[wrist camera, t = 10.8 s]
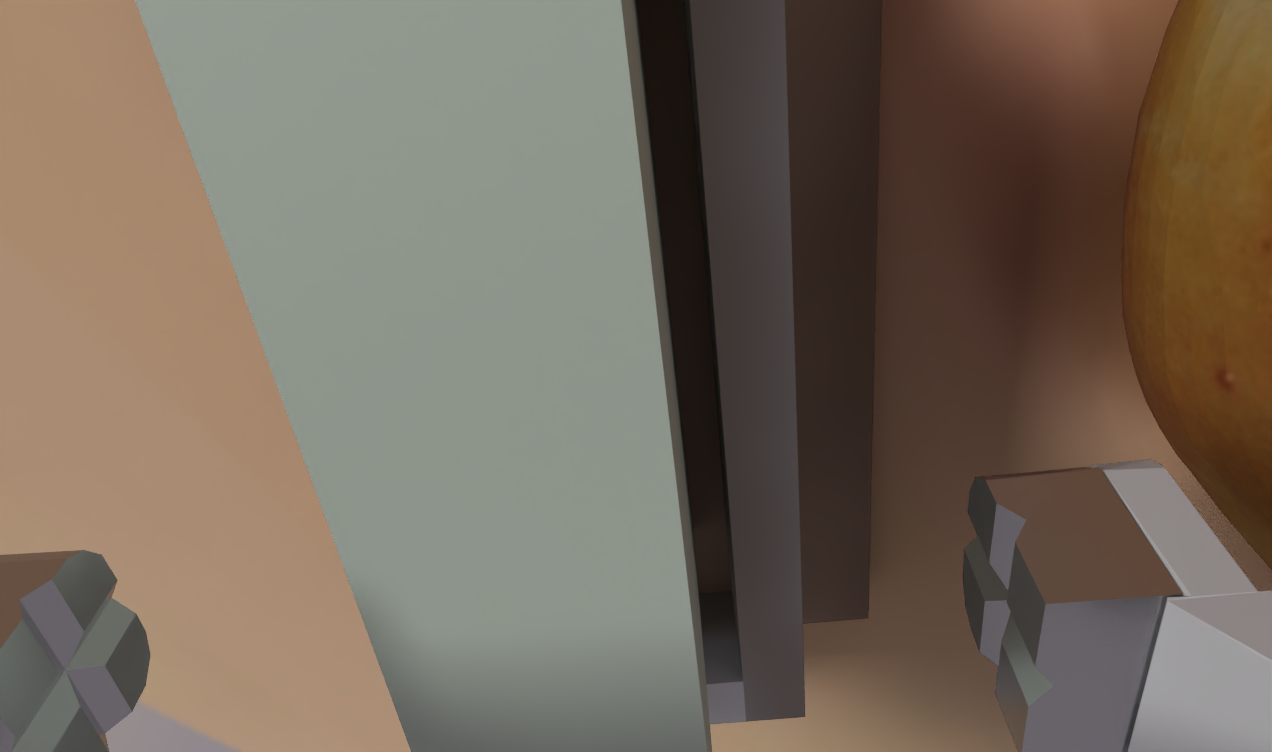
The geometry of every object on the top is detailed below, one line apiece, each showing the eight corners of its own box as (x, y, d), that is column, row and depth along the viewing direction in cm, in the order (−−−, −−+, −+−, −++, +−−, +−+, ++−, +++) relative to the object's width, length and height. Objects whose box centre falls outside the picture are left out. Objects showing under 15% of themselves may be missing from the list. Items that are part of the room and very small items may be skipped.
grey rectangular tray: (875, -594, 12) (959, -725, 9) (859, 586, 22) (894, 709, 19) (24, -465, 12) (-168, -545, 9) (397, 626, 23) (362, 751, 20)
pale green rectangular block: (607, -271, 13) (582, -343, 6) (693, 529, 20) (725, 911, 13) (351, -237, 13) (37, -267, 6) (528, 544, 20) (476, 928, 13)
